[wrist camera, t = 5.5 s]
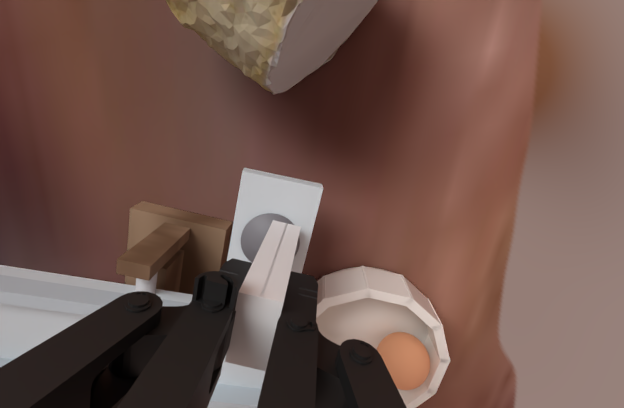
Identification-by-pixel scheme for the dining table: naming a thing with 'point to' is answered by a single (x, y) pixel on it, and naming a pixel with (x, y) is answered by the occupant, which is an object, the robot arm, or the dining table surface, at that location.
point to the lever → (96, 293)
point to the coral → (273, 34)
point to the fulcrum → (172, 246)
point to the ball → (405, 359)
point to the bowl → (382, 317)
